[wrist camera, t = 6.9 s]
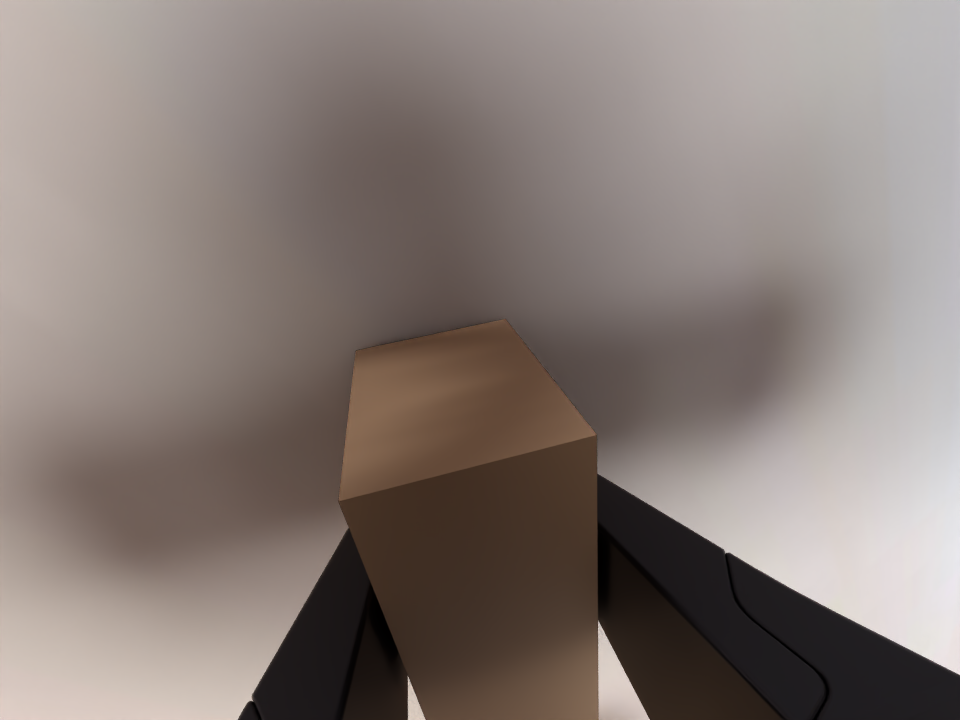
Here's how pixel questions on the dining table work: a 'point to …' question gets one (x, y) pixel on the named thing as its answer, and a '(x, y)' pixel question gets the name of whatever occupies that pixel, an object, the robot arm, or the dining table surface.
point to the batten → (477, 523)
